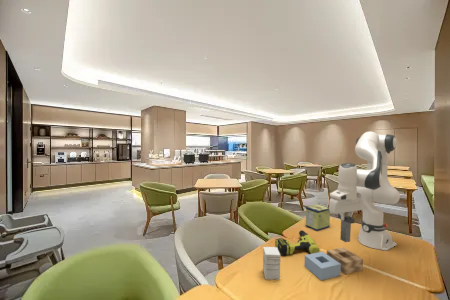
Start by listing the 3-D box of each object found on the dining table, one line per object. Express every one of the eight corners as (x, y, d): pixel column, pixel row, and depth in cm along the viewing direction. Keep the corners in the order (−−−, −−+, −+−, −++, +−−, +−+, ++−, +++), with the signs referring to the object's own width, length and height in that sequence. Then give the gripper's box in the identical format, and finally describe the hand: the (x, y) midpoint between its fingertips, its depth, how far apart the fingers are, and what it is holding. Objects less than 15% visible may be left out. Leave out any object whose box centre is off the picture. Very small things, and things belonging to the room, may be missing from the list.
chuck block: (322, 262, 116) (322, 251, 116) (340, 275, 105) (340, 264, 104) (304, 266, 112) (304, 255, 112) (321, 280, 101) (321, 268, 101)
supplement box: (262, 270, 109) (263, 246, 108) (276, 270, 108) (277, 246, 108) (264, 279, 101) (265, 254, 100) (280, 280, 101) (280, 254, 100)
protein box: (329, 227, 162) (330, 207, 162) (316, 231, 155) (317, 210, 154) (317, 222, 171) (318, 203, 171) (305, 226, 164) (305, 206, 163)
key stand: (343, 257, 121) (343, 247, 120) (362, 269, 109) (363, 258, 109) (326, 261, 117) (326, 250, 117) (344, 274, 106) (345, 262, 105)
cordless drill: (269, 236, 146) (305, 236, 146) (279, 257, 121) (322, 257, 122) (270, 226, 145) (305, 226, 146) (279, 245, 121) (322, 246, 121)
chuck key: (336, 237, 116) (337, 213, 115) (341, 236, 117) (342, 213, 116) (349, 244, 108) (350, 219, 107) (354, 243, 109) (355, 218, 108)
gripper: (356, 191, 117) (355, 215, 118) (327, 194, 111) (326, 219, 112) (367, 193, 111) (365, 219, 112) (337, 197, 105) (336, 224, 106)
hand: (345, 219), depth 112 cm, fingers closed on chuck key, 2 cm apart
